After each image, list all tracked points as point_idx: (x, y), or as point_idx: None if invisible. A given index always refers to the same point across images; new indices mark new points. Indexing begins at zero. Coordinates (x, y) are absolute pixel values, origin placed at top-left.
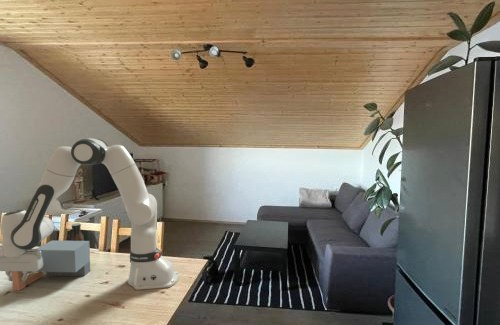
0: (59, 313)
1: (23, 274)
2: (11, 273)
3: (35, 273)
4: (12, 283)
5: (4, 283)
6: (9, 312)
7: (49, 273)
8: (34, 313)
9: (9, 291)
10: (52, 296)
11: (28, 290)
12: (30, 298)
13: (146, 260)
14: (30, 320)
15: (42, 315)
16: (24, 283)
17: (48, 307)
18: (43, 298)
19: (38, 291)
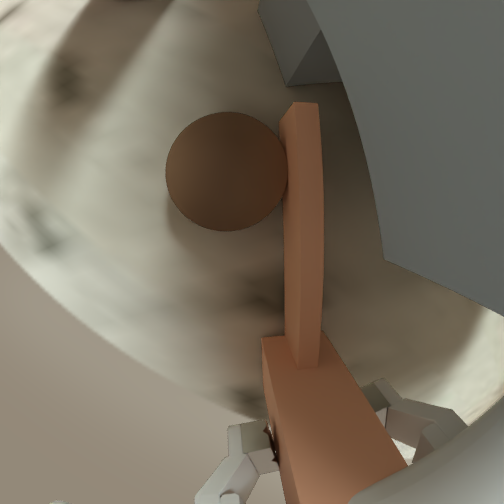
0: None
1: (416, 448)
2: (237, 480)
3: (310, 196)
4: (271, 423)
5: (78, 318)
6: (407, 448)
7: (324, 75)
8: (475, 405)
9: (248, 394)
10: (494, 321)
11: (370, 341)
12: (430, 379)
13: None
14: (474, 419)
15: (492, 394)
16: (335, 356)
17: (497, 368)
18: (474, 349)
19: (431, 322)
